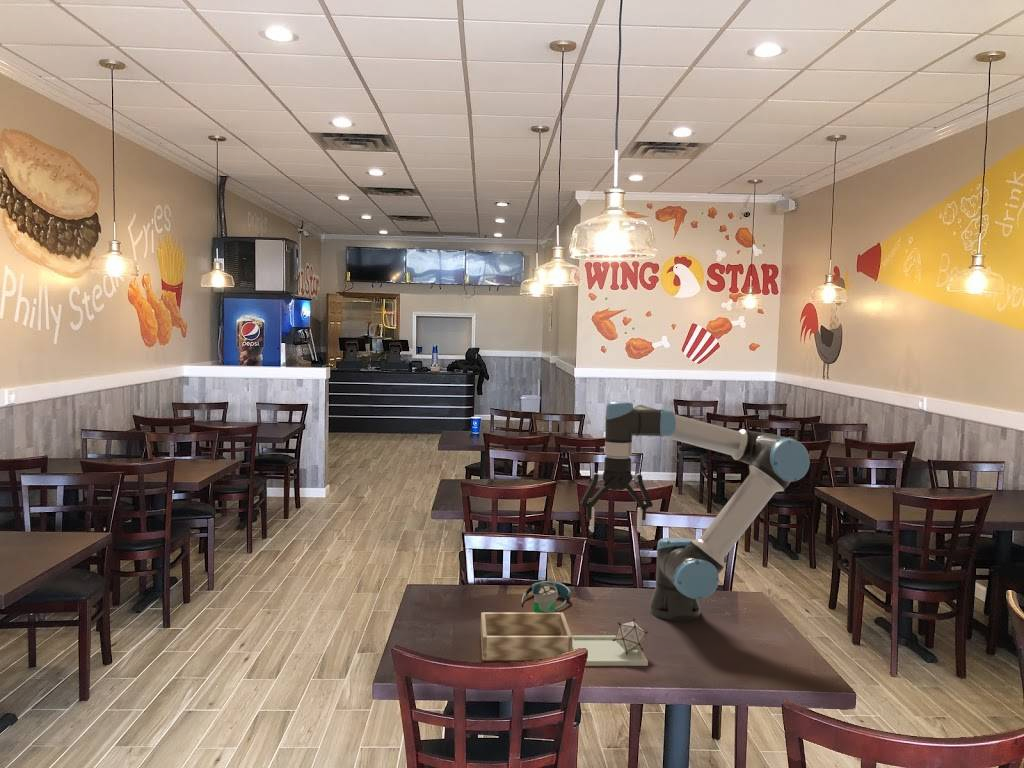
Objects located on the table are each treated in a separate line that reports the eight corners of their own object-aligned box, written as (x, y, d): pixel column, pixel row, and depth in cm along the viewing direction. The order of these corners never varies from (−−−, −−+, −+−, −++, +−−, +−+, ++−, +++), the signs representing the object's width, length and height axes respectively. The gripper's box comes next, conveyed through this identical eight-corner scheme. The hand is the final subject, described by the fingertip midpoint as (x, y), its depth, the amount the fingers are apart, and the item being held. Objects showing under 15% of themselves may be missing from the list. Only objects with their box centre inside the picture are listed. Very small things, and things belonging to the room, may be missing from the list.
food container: (554, 632, 215) (555, 597, 214) (532, 629, 216) (533, 595, 216) (560, 617, 227) (561, 583, 226) (539, 615, 228) (540, 582, 228)
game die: (606, 617, 204) (642, 608, 203) (613, 642, 207) (649, 633, 206) (609, 638, 196) (647, 630, 194) (617, 664, 198) (655, 656, 197)
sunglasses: (576, 599, 242) (575, 584, 241) (558, 619, 229) (558, 603, 228) (535, 591, 248) (535, 577, 247) (515, 611, 235) (515, 595, 234)
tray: (632, 639, 211) (633, 635, 211) (647, 665, 194) (648, 660, 194) (568, 639, 209) (568, 635, 209) (577, 665, 192) (577, 661, 192)
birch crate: (562, 633, 214) (563, 612, 214) (571, 660, 196) (572, 637, 196) (480, 633, 212) (481, 612, 212) (482, 660, 194) (482, 637, 194)
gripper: (658, 455, 219) (655, 528, 220) (572, 454, 217) (569, 527, 218) (665, 459, 211) (662, 534, 212) (576, 457, 210) (573, 534, 211)
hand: (615, 531), depth 215 cm, fingers open, 13 cm apart
